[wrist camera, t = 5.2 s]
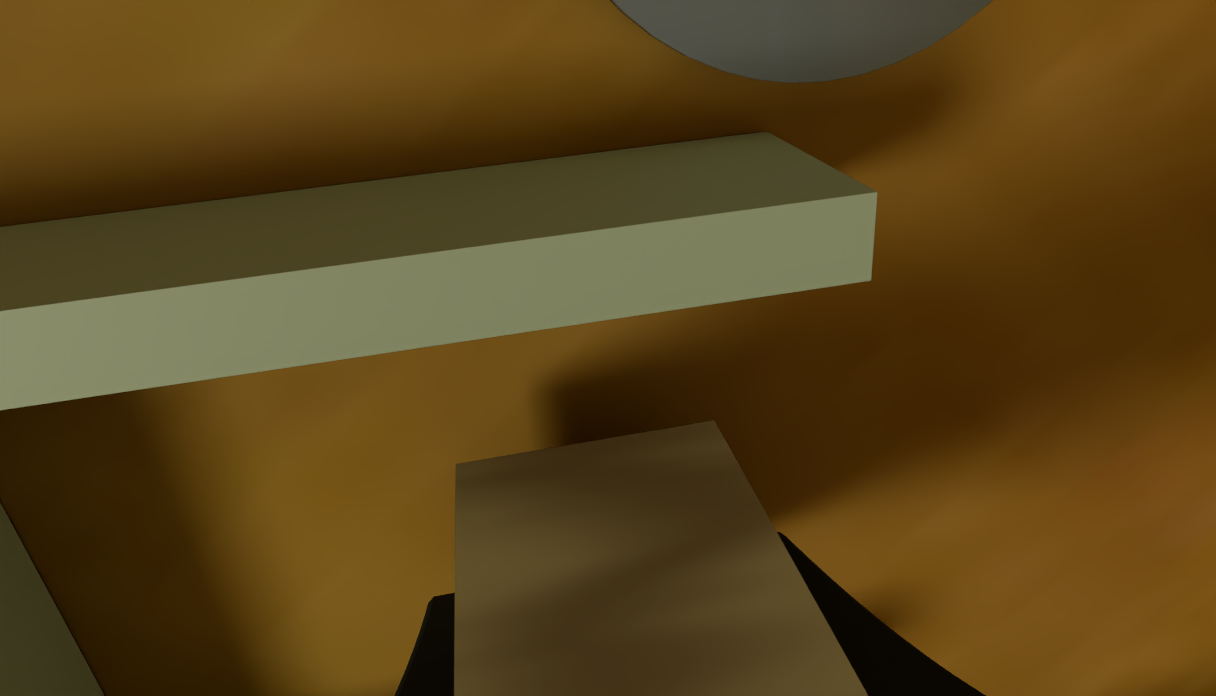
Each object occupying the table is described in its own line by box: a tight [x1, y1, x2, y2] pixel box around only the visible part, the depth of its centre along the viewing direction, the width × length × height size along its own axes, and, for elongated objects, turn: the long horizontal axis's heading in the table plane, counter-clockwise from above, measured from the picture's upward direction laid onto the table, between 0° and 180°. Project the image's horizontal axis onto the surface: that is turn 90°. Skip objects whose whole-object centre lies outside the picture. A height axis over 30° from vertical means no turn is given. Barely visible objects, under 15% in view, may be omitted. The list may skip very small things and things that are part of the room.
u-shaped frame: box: [0, 132, 877, 696], centre depth 14 cm, size 15×13×4 cm
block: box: [454, 420, 868, 696], centre depth 12 cm, size 4×4×6 cm
